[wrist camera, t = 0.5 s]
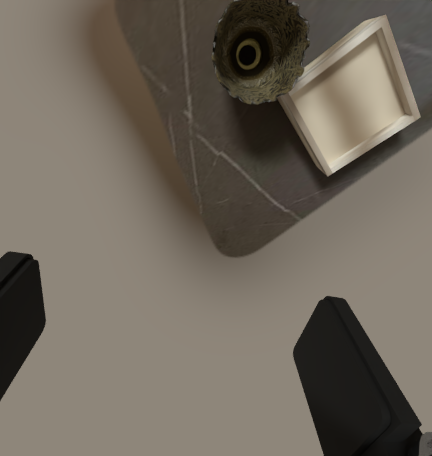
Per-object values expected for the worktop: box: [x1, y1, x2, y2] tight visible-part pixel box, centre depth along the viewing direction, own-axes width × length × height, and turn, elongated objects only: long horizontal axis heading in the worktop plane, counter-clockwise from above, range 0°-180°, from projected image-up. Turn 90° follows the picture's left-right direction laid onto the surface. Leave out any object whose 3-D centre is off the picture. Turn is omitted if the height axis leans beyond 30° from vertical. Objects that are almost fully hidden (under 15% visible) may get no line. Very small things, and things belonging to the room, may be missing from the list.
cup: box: [212, 0, 310, 105], centre depth 24 cm, size 8×7×8 cm
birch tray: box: [277, 15, 420, 176], centre depth 29 cm, size 10×10×4 cm
